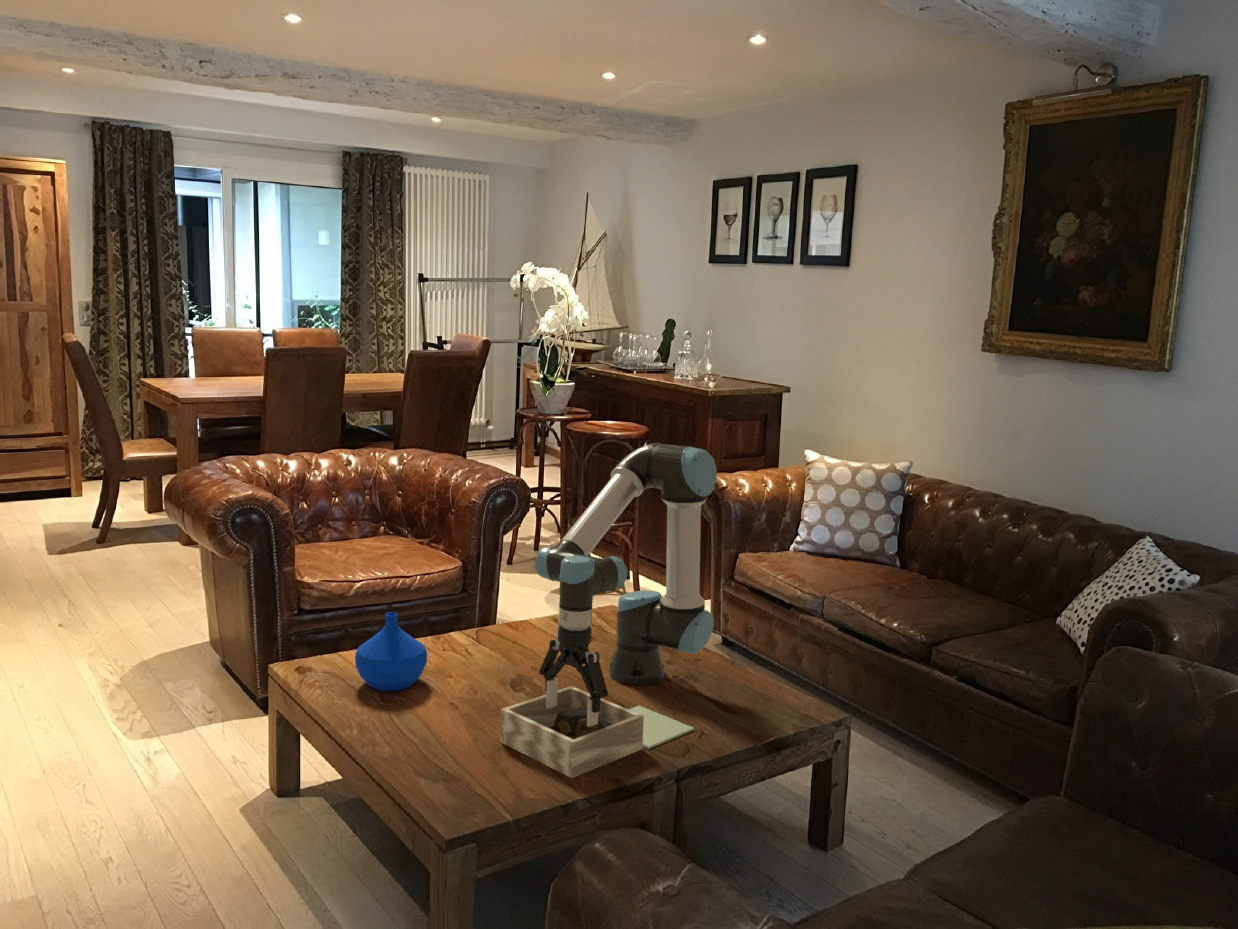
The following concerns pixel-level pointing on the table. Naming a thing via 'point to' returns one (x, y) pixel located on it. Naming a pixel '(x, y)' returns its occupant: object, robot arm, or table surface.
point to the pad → (659, 727)
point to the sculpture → (577, 723)
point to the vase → (391, 658)
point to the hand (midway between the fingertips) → (571, 715)
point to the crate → (570, 757)
